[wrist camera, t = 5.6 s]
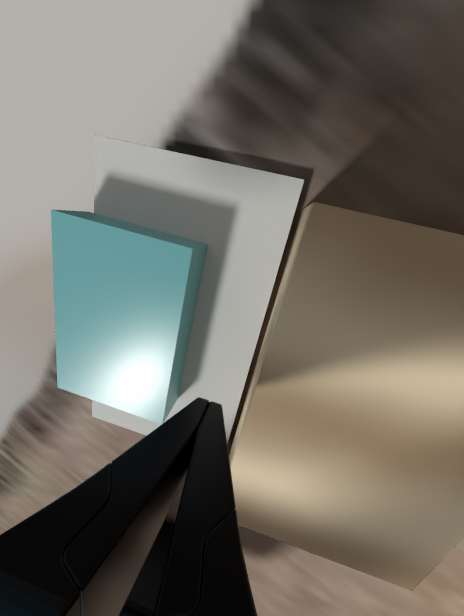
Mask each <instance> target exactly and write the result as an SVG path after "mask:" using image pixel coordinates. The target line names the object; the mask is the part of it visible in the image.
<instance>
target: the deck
mask: <svg viewBox="0 0 464 616" xmlns="http://www.w3.org/2000/svg"><path fill="white" fill-rule="evenodd" d="M229 460H230V468H231V475H232V482H233V490H234V497H235V504H236V509H235V510H236V511H237V518H238V525H239V526H242V527H244V528H247V529H250V530H252V531H255V532H257V533H260V534H263V535H265V536H268V537H271V538H273V539H276V540H279V541H281V542H284V543H287V544H289V545H292V546H295V547H297V548H300V549H303V550H305V551H308V552H311V553H313V554H316V555H319V556H321V557H324V558H327V559H329V560H332V561H335V562H337V563H340V564H342V565H345V566H348V567H350V568H353V569H356V570H358V571H361V572H364V573H366V574H369V575H372V576H374V577H377V578H380V579H382V580H385V581H388V582H390V583H393V584H396V585H398V586H401V587H404V588H406V589H409V590H412V591H413V590H414V588H415V587H416V586H417V585H418V584H419V583H420V582H421V581H422V580H423V579H424V578H425V577H426V576H427V575H428V574H429V573H430V572H431V571H432V570H433V569H434V568H435V567H436V566H437V565H438V564H439V563H440V562H441V561H442V560H443V559H444V558H445V557H446V556H447V555H448V554H449V553H450V552H451V551H452V550H453V549H454V548H455V546H456V545H457V544H458V543H459V542H460V541H461V540H462V539H463V538H464V235H461V234H456V233H452V232H447V231H443V230H438V229H434V228H429V227H425V226H420V225H416V224H411V223H407V222H402V221H398V220H393V219H389V218H384V217H380V216H375V215H371V214H366V213H362V212H357V211H353V210H348V209H344V208H340V207H335V206H331V205H326V204H322V203H317V202H313V203H312V204H310V205H309V206H307V207H306V208H304V209H303V211H302V214H301V217H300V221H299V224H298V227H297V231H296V234H295V237H294V241H293V244H292V247H291V251H290V254H289V257H288V261H287V264H286V267H285V270H284V274H283V277H282V280H281V284H280V287H279V290H278V294H277V297H276V300H275V304H274V307H273V310H272V314H271V317H270V320H269V323H268V327H267V330H266V333H265V337H264V340H263V343H262V347H261V350H260V353H259V357H258V360H257V363H256V367H255V370H254V373H253V377H252V380H251V383H250V386H249V390H248V393H247V396H246V400H245V403H244V406H243V410H242V413H241V416H240V420H239V423H238V426H237V430H236V433H235V436H234V439H233V443H232V446H231V451H230V455H229Z"/></svg>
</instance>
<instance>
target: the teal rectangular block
mask: <svg viewBox="0 0 464 616" xmlns="http://www.w3.org/2000/svg"><path fill="white" fill-rule="evenodd" d="M51 221H52V246H53V247H52V248H53V272H54V273H53V275H54V301H55V329H56V356H57V383H58V388H61V389H63V390H66V391H69V392H72V393H75V394H77V395H80V396H83V397H86V398H89V399H91V400H94V401H97V402H100V403H103V404H105V405H108V406H111V407H114V408H117V409H119V410H122V411H125V412H128V413H131V414H133V415H136V416H139V417H142V418H145V419H147V420H150V421H153V422H156V423H159V424H163V423H164V421H165V419H166V418H167V416H168V414H169V413H170V411H171V409H172V408H173V406H174V404H175V403H176V401H177V399H178V396H179V390H180V385H181V380H182V375H183V370H184V365H185V359H186V354H187V349H188V344H189V339H190V334H191V329H192V323H193V318H194V313H195V308H196V303H197V298H198V292H199V287H200V282H201V277H202V272H203V267H204V262H205V256H206V251H207V246H208V244H205V243H201V242H198V241H194V240H190V239H187V238H183V237H179V236H176V235H172V234H168V233H164V232H161V231H157V230H153V229H150V228H146V227H142V226H139V225H135V224H131V223H128V222H124V221H120V220H117V219H113V218H109V217H106V216H102V215H98V214H95V213H91V212H83V211H65V210H64V211H63V210H51Z"/></svg>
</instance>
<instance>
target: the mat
mask: <svg viewBox="0 0 464 616" xmlns="http://www.w3.org/2000/svg"><path fill="white" fill-rule="evenodd" d="M303 183H304V179H299V178H294V177H290V176H285V175H280V174H275V173H271V172H266V171H261V170H257V169H252V168H247V167H243V166H238V165H233V164H229V163H224V162H219V161H215V160H210V159H205V158H201V157H196V156H191V155H187V154H182V153H177V152H173V151H168V150H163V149H159V148H154V147H149V146H145V145H140V144H135V143H131V142H126V141H121V140H116V139H111V138H107V137H102V136H97V135H95V188H94V194H95V195H94V213H95V214H98V215H102V216H106V217H109V218H113V219H117V220H120V221H124V222H128V223H131V224H135V225H139V226H142V227H146V228H150V229H153V230H157V231H161V232H164V233H168V234H172V235H176V236H179V237H183V238H187V239H190V240H194V241H198V242H201V243H205V244H208V246H207V251H206V256H205V262H204V267H203V272H202V277H201V282H200V287H199V292H198V298H197V303H196V308H195V313H194V318H193V323H192V329H191V334H190V339H189V344H188V349H187V354H186V359H185V365H184V370H183V375H182V380H181V385H180V390H179V396H178V399H177V401H176V403H175V404H174V406H173V408H172V409H171V411H170V413H169V414H168V416H167V418H166V419H165V421H164V422H166V421H167V420H168V419H170V418H171V417H172V416H174V415H175V414H176V413H178V412H179V411H180V410H182V409H183V408H184V407H186V406H187V405H188V404H190V403H191V402H192V401H194V400H195V399H196V398H198V397H201V398H204V399H207V400H209V402H211V401H213V402H216V403H219V404H221V405H222V409H223V416H224V424H225V431H226V438H227V443H228V440H229V437H230V433H231V430H232V426H233V423H234V419H235V416H236V413H237V409H238V406H239V402H240V399H241V395H242V392H243V389H244V385H245V382H246V378H247V375H248V372H249V368H250V365H251V361H252V358H253V354H254V351H255V348H256V344H257V341H258V337H259V334H260V330H261V327H262V324H263V320H264V317H265V313H266V310H267V306H268V303H269V300H270V296H271V293H272V289H273V286H274V282H275V279H276V276H277V272H278V269H279V265H280V262H281V258H282V255H283V252H284V248H285V245H286V241H287V238H288V234H289V231H290V228H291V224H292V221H293V217H294V214H295V210H296V207H297V204H298V200H299V197H300V193H301V190H302V186H303ZM92 417H95V418H98V419H101V420H104V421H107V422H110V423H112V424H115V425H118V426H121V427H124V428H127V429H130V430H132V431H135V432H138V433H141V434H144V435H148V434H149V433H151V432H152V431H153V430H155V429H156V428H157V427H159V426H160V425H161V424H159V423H156V422H153V421H150V420H147V419H145V418H142V417H139V416H136V415H133V414H131V413H128V412H125V411H122V410H119V409H117V408H114V407H111V406H108V405H105V404H103V403H100V402H97V401H94V400H92Z"/></svg>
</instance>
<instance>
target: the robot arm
mask: <svg viewBox="0 0 464 616" xmlns="http://www.w3.org/2000/svg"><path fill="white" fill-rule="evenodd" d="M186 474H187V475H186ZM185 476H186V479H185V483H184V488H183V492H182V496H181V500H180V504H179V508H178V513H177V517H176V521H175V525H174V526H172V525H169V524H167V523H164V520H165V518H166V516H167V514H168V511H169V509H170V507H171V505H172V503H173V501H174V499H175V497H176V495H177V493H178V491H179V489H180V486H181V484H182V482H183V480H184V478H185ZM235 509H236V504H235V497H234V490H233V482H232V475H231V468H230V460H229V453H228V446H227V438H226V431H225V424H224V416H223V409H222V405H221V404H219V403H216V402H213V401H211V402H209V400H207V399H204V398H201V397H198V398H196V399H195V400H194V401H192V402H191V403H190V404H188V405H187V406H186V407H184V408H183V409H182V410H180V411H179V412H178V413H176V414H175V415H174V416H172V417H171V418H170V419H168V420H167V421H166V422H164V423H163V424H161V425H160V426H159V427H157V428H156V429H155V430H153V431H152V432H151V433H149V434H148V435H147V436H145V437H144V438H143V439H141V440H140V441H139V442H137V443H136V444H135V445H133V446H132V447H131V448H129V449H128V450H127V451H125V452H124V453H123V454H121V455H120V456H119V457H117V458H116V459H115V460H113V461H112V464H111V463H109V464H108V465H106V466H105V467H104V468H102V469H101V470H100V471H98V472H97V473H96V474H94V475H93V476H91V477H90V478H89V479H87V480H86V481H84V482H83V483H82V484H80V485H79V486H77V487H76V488H74V489H73V490H71V491H70V492H68V493H67V494H65V495H63V496H62V497H60V498H59V499H57V500H56V501H54V502H53V503H51V504H49V505H48V506H46V507H45V508H43V509H41V510H40V511H38V512H37V513H35V514H33V515H32V516H30V517H28V518H27V519H25V520H24V521H22V522H20V523H19V524H17V525H16V526H14V527H12V528H11V529H9V530H7V531H6V532H4V533H3V534H1V535H0V616H257V613H256V609H255V604H254V600H253V596H252V592H251V588H250V583H249V579H248V574H247V569H246V565H245V560H244V555H243V550H242V544H241V538H240V532H239V525H238V518H237V511H236V510H235Z"/></svg>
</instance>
